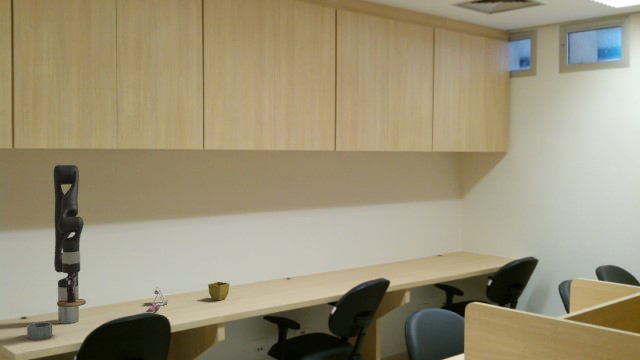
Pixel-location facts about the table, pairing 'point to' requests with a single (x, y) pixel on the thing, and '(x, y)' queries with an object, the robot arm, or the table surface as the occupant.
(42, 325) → the bowl
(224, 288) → the flower pot
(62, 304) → the lid
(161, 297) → the portable electronic device stand
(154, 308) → the video game controller
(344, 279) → the table surface
